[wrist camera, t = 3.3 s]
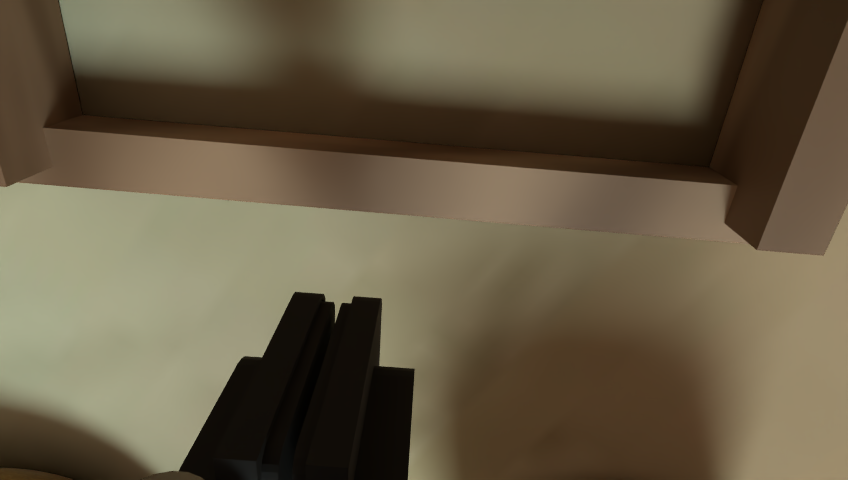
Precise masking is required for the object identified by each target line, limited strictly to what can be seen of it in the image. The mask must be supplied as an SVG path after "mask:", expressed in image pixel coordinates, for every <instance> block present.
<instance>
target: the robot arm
mask: <svg viewBox="0 0 848 480" xmlns="http://www.w3.org/2000/svg"><path fill="white" fill-rule="evenodd" d="M381 313H382V299H381V298H368V297H355V296H354V297H353V299H352V303H351V304H350V303H342V304H341V307H340V310H339V313H338V316H337V320H336V323H335V304H334V302H325V296H324V294H315V293H302V292H295V293H294V294H293V296H292V298H291V300H290V302H289V304H288V306H287V308H286V310H285V312H284V314H283V316H282V318H281V320H280V323H279V325H278V327H277V329H276V331H275V333H274V335H273V337H272V339H271V341H270V343H269V345H268V347H267V349H266V351H265V353H264V355H263V357H262V358H261V357H248V356H245V357H243V358H242V359H241V360H240V361H239V363H238V364H237V366H236V368H235V370H234V371H233V373H232V375H231V377H230V379H229V381H228V382H227V384H226V386H225V388H224V390H223V391H222V393H221V395H220V397H219V399H218V401H217V402H216V404H215V406H214V408H213V410H212V411H211V413H210V415H209V417H208V419H207V420H206V422H205V424H204V426H203V428H202V430H201V431H200V433H199V435H198V437H197V439H196V440H195V442H194V444H193V446H192V448H191V449H190V451H189V453H188V455H187V457H186V459H185V460H184V462H183V464H182V466H181V468H180V469H179V471H169V472H164V473H158V474H153V475H151V476H148V477H146V478H143V479H141V480H408V465H409V449H410V433H411V418H412V402H413V386H414V369H409V368H395V367H382V366H379V358H380V335H381Z"/></svg>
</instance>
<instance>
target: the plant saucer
mask: <svg viewBox="0 0 848 480" xmlns="http://www.w3.org/2000/svg"><path fill="white" fill-rule="evenodd" d="M0 480H74V479H71V478H67V477H64V476H60V475H56V474H52V473H47V472H42V471H36V470H29V469H19V468H0Z"/></svg>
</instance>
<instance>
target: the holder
mask: <svg viewBox="0 0 848 480" xmlns="http://www.w3.org/2000/svg"><path fill="white" fill-rule="evenodd" d="M16 182H20V183H32V184H44V185H56V186H68V187H79V188H91V189H103V190H115V191H127V192H139V193H151V194H163V195H174V196H186V197H198V198H210V199H222V200H234V201H246V202H258V203H269V204H281V205H293V206H305V207H317V208H329V209H341V210H352V211H364V212H376V213H388V214H400V215H412V216H424V217H436V218H447V219H459V220H471V221H483V222H495V223H507V224H519V225H531V226H542V227H554V228H566V229H578V230H590V231H602V232H614V233H626V234H637V235H649V236H661V237H673V238H685V239H697V240H709V241H721V242H732V243H744V244H750V245H751V246H753V247H754V248H755V249H756V250H763V251H775V252H786V253H798V254H810V255H822V256H824V254H825V252H826V250H827V248H828V245H829V243H830V241H831V239H832V237H833V235H834V232H835V230H836V228H837V226H838V224H839V222H840V219H841V217H842V215H843V213H844V211H845V209H846V206H847V204H848V0H763V4H762V7H761V10H760V13H759V16H758V19H757V22H756V25H755V28H754V31H753V34H752V37H751V40H750V44H749V47H748V50H747V53H746V56H745V59H744V62H743V65H742V68H741V71H740V74H739V77H738V80H737V83H736V87H735V90H734V93H733V96H732V99H731V102H730V105H729V108H728V111H727V114H726V117H725V120H724V123H723V127H722V130H721V133H720V136H719V139H718V142H717V145H716V148H715V151H714V154H713V157H712V160H711V163H710V167H701V166H689V165H677V164H665V163H653V162H641V161H629V160H617V159H605V158H593V157H581V156H569V155H557V154H545V153H533V152H521V151H509V150H497V149H485V148H473V147H461V146H449V145H437V144H425V143H413V142H401V141H389V140H377V139H365V138H353V137H341V136H329V135H317V134H305V133H293V132H281V131H269V130H257V129H245V128H233V127H221V126H209V125H197V124H185V123H173V122H161V121H149V120H137V119H125V118H113V117H101V116H89V115H82V111H81V106H80V101H79V97H78V92H77V87H76V83H75V78H74V73H73V69H72V64H71V59H70V54H69V50H68V45H67V40H66V36H65V31H64V26H63V21H62V17H61V12H60V7H59V3H58V0H0V186H3V187H7V186H10V185H12V184H14V183H16Z"/></svg>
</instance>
